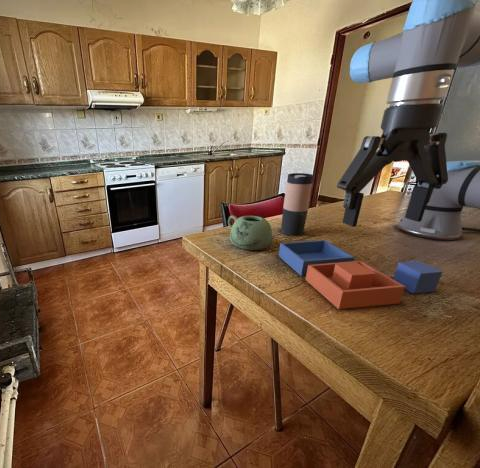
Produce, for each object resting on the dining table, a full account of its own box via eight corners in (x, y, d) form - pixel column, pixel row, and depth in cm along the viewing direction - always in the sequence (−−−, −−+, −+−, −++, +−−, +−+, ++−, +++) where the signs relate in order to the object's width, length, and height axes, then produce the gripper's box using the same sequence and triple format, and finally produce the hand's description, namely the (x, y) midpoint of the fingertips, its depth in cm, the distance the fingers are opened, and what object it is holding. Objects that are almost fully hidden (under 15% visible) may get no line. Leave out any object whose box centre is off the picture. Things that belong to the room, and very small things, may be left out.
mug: (280, 245, 81) (283, 218, 77) (253, 256, 74) (256, 228, 71) (239, 231, 93) (241, 208, 90) (214, 240, 86) (215, 215, 83)
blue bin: (321, 252, 75) (324, 239, 73) (351, 271, 64) (354, 257, 63) (278, 256, 74) (280, 243, 72) (301, 276, 63) (303, 261, 62)
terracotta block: (351, 281, 59) (356, 262, 57) (368, 294, 55) (375, 273, 53) (330, 283, 59) (335, 263, 57) (346, 295, 54) (352, 275, 52)
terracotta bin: (356, 275, 63) (360, 260, 61) (399, 303, 52) (405, 286, 51) (305, 279, 62) (308, 264, 60) (338, 309, 51) (342, 292, 50)
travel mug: (299, 228, 94) (308, 172, 86) (307, 236, 86) (318, 176, 79) (277, 228, 94) (284, 173, 87) (283, 236, 87) (292, 176, 80)
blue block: (412, 279, 60) (418, 260, 58) (434, 291, 55) (442, 271, 54) (392, 281, 60) (398, 262, 58) (413, 293, 55) (421, 273, 53)
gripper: (362, 105, 39) (335, 233, 47) (509, 98, 41) (459, 223, 49) (329, 109, 46) (310, 220, 54) (456, 103, 48) (420, 212, 56)
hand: (381, 222), depth 51 cm, fingers open, 13 cm apart
